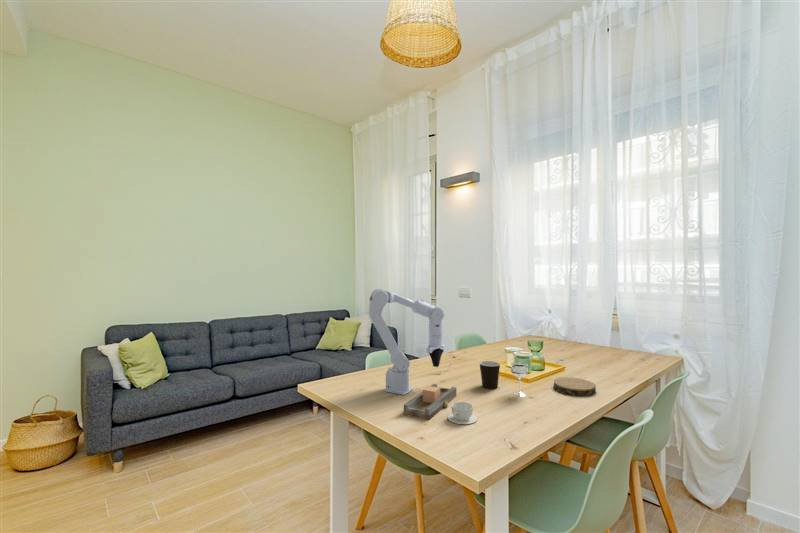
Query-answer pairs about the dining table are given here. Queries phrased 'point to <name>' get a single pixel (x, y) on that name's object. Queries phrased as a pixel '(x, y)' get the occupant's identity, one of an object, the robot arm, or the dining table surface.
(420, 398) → the grey rectangular tray
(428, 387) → the salmon orange block
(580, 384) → the wood slice
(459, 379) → the dining table surface
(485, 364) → the coffee mug
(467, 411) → the teacup
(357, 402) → the dining table surface
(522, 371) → the wineglass
